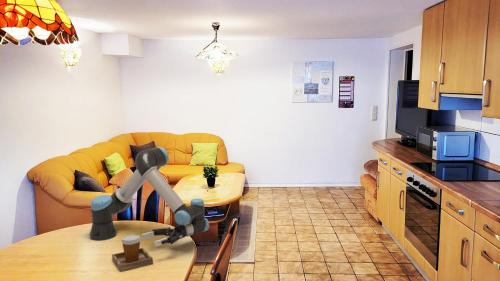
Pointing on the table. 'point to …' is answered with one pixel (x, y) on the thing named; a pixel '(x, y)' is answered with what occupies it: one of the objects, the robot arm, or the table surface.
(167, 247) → the table surface
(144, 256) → the walnut tray
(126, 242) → the disposable coffee cup
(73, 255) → the table surface
